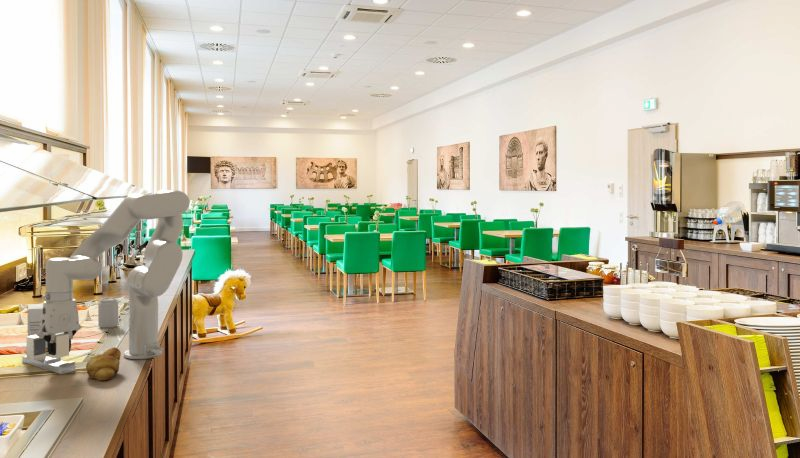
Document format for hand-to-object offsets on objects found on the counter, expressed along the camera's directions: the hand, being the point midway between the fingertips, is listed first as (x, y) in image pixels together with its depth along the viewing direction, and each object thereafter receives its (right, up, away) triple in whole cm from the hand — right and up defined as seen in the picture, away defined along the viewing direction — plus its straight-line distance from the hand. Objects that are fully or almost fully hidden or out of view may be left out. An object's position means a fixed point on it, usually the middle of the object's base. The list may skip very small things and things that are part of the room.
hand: (59, 352), depth 188 cm
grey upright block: (-13, -2, +57) cm, 58 cm away
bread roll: (+16, -7, -4) cm, 18 cm away
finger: (0, -1, 0) cm, 1 cm away
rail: (-6, -5, +4) cm, 9 cm away
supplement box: (-22, -3, +26) cm, 34 cm away
